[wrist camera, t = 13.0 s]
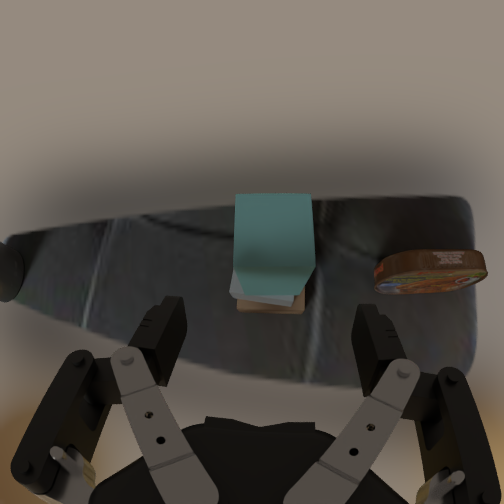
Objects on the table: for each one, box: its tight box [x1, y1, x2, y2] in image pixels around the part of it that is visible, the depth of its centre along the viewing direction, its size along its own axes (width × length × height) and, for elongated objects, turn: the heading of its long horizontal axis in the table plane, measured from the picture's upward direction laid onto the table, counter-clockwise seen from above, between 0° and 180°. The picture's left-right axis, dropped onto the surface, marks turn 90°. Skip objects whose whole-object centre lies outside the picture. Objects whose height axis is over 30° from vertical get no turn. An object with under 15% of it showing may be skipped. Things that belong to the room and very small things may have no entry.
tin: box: [374, 249, 488, 294], centre depth 30 cm, size 15×3×8 cm, turn 88°
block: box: [233, 194, 316, 295], centre depth 24 cm, size 5×5×10 cm
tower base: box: [237, 286, 305, 314], centre depth 34 cm, size 7×7×4 cm
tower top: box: [229, 270, 294, 307], centre depth 30 cm, size 6×6×4 cm
